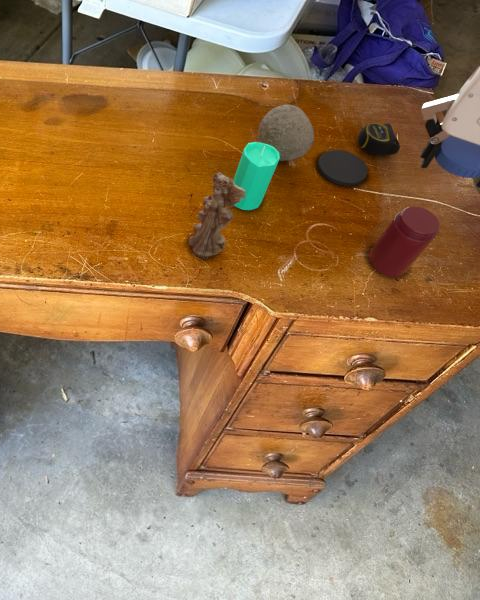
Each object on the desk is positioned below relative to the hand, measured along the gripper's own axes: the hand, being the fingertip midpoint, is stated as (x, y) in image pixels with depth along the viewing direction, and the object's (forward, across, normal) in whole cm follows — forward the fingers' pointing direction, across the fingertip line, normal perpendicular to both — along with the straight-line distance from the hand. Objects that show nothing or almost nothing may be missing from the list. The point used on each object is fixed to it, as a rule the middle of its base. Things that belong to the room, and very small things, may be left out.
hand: (452, 171), depth 80 cm
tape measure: (+20, -9, +27) cm, 35 cm away
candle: (+19, -26, 0) cm, 32 cm away
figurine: (+19, -28, -14) cm, 37 cm away
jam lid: (-3, 0, 0) cm, 3 cm away
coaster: (+19, -13, +17) cm, 29 cm away
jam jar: (+19, 0, -1) cm, 19 cm away
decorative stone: (+19, -25, +14) cm, 34 cm away
